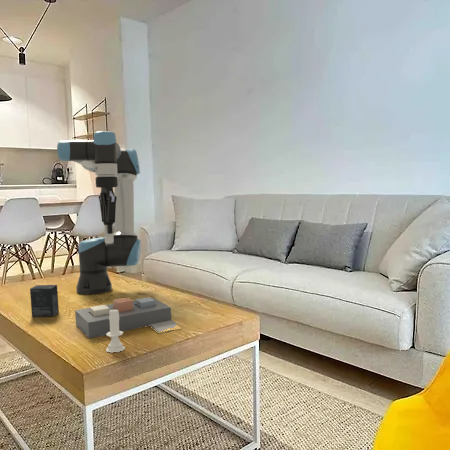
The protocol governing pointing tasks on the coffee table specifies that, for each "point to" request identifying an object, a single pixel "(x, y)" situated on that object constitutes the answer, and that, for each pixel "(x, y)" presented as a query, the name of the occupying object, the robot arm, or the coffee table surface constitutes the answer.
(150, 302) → the slate key
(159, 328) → the smartphone
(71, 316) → the coffee table surface
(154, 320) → the key panel
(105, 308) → the ivory key
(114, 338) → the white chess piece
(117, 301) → the terracotta key
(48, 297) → the box
